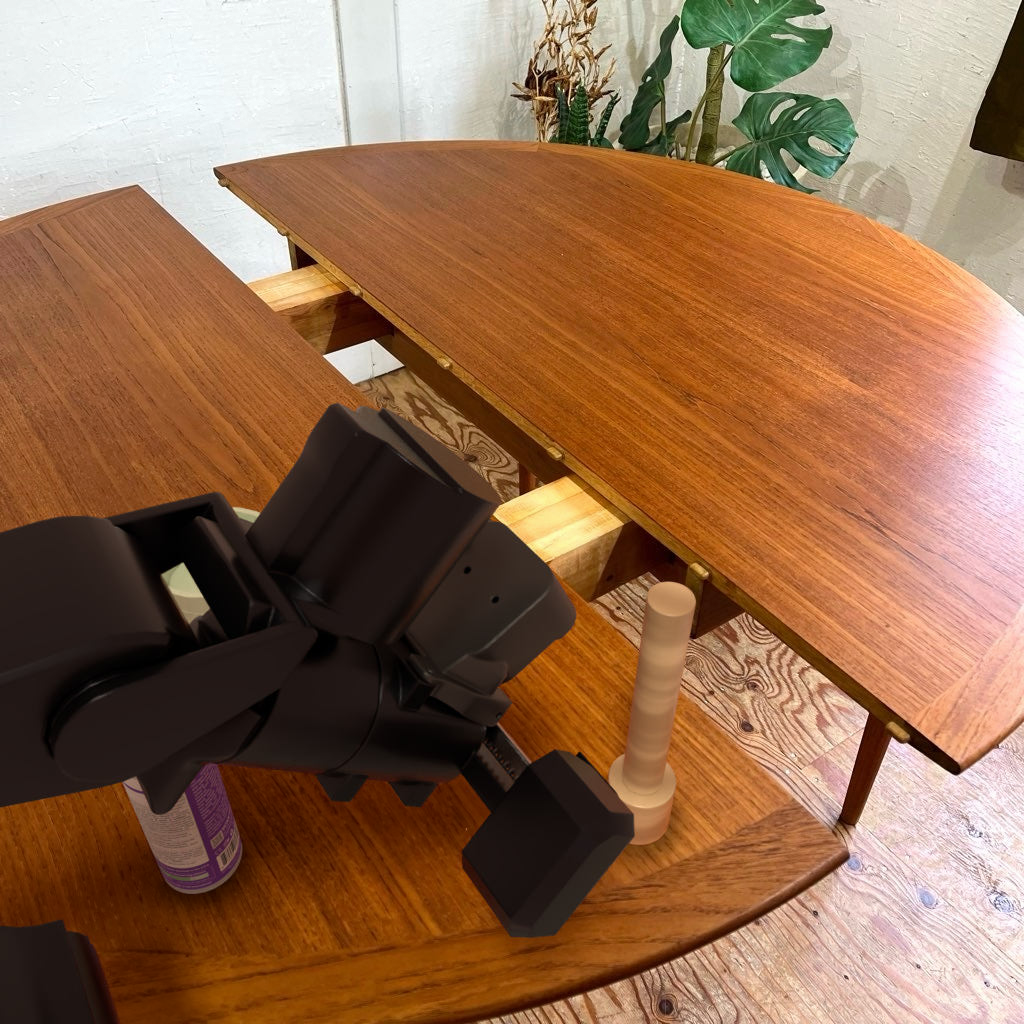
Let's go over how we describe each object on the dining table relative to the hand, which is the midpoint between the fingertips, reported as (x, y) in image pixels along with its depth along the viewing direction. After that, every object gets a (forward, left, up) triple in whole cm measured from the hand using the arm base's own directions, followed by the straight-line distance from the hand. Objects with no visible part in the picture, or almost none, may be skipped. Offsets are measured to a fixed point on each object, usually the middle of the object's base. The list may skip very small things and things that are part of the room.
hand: (553, 738), depth 48 cm
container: (-5, +20, -13) cm, 24 cm away
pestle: (+5, -4, -13) cm, 15 cm away
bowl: (+15, +30, -13) cm, 36 cm away
